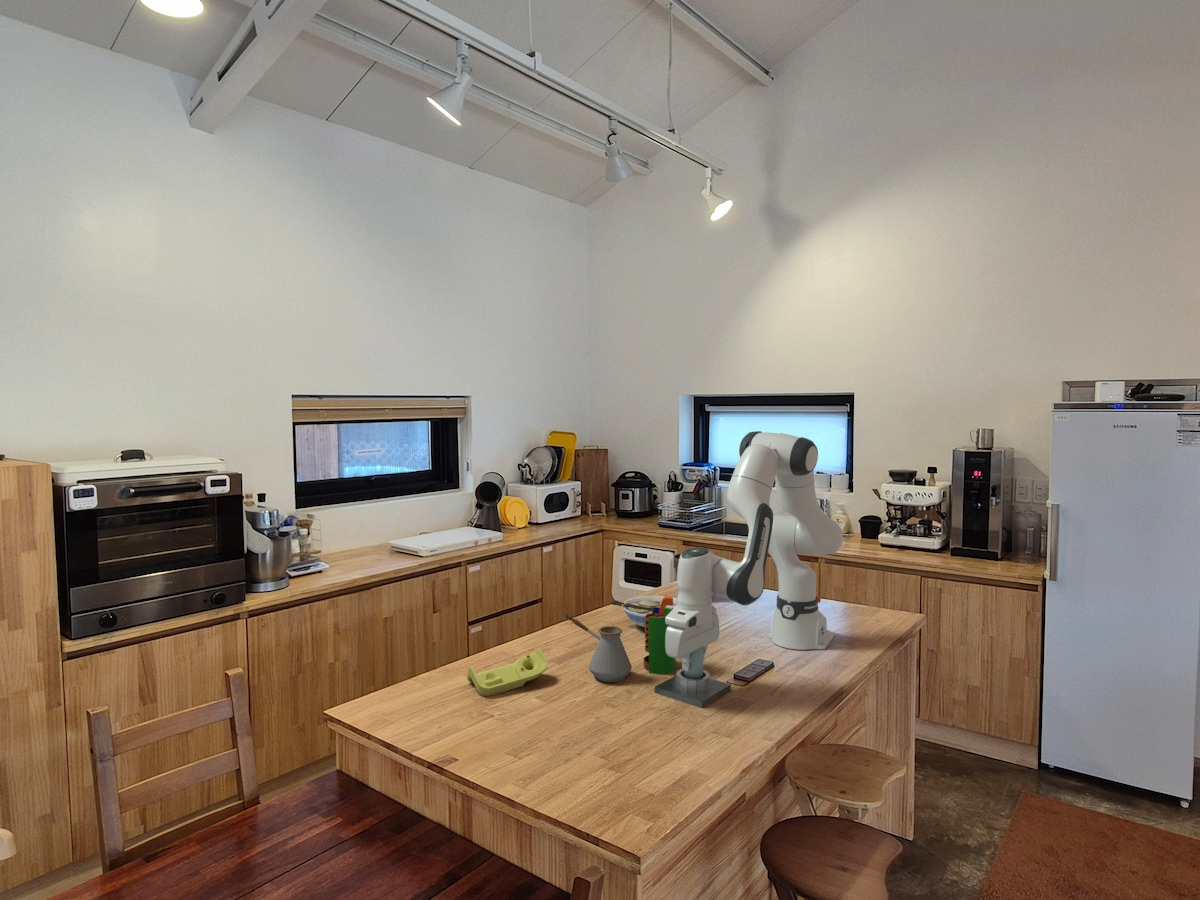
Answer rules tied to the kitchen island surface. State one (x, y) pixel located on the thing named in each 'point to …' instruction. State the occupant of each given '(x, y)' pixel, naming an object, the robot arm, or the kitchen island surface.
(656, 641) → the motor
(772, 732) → the kitchen island surface
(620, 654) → the coffee pot
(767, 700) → the kitchen island surface
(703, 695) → the motor mount
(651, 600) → the ramen bowl
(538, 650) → the plastic component
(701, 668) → the capped teal cylinder
